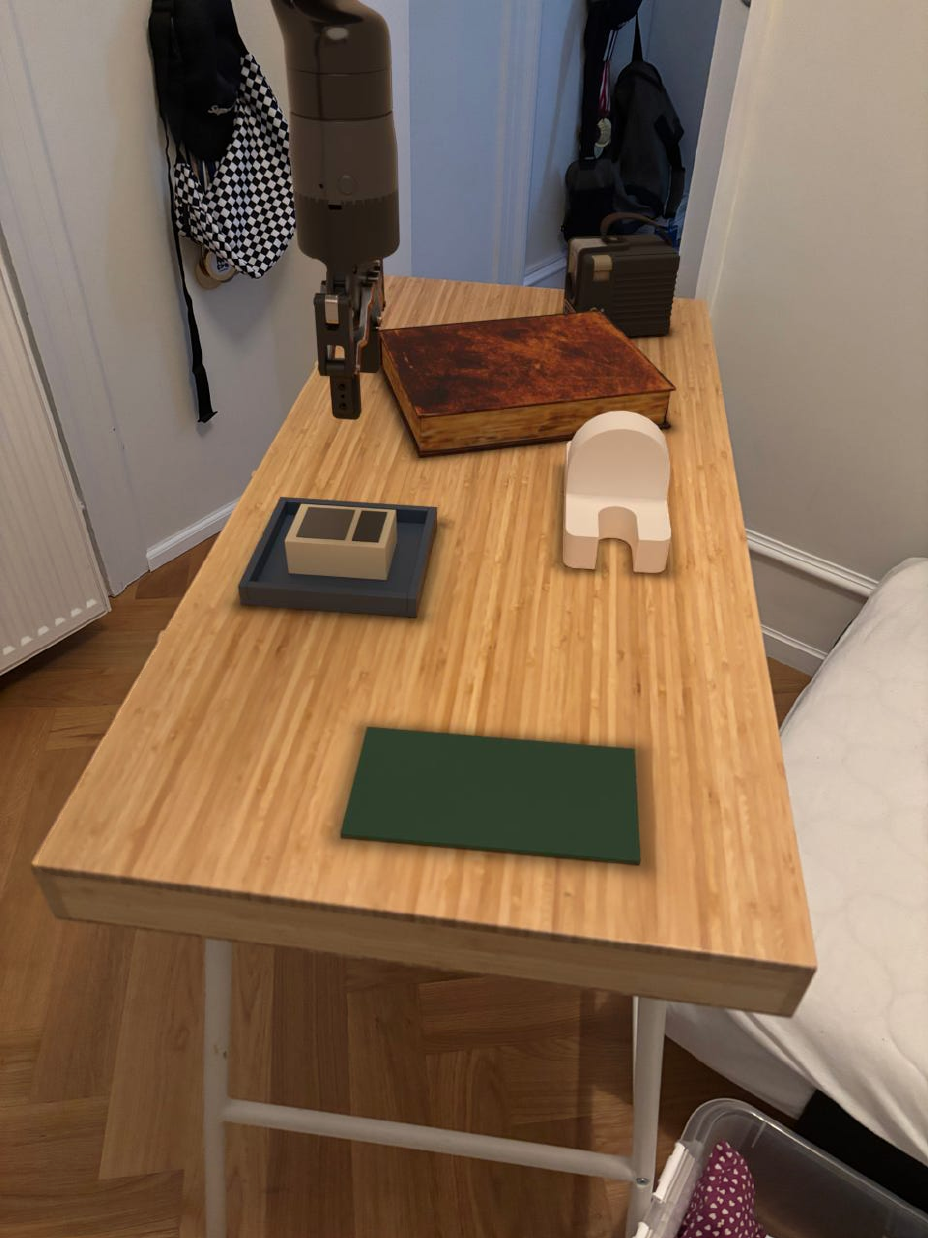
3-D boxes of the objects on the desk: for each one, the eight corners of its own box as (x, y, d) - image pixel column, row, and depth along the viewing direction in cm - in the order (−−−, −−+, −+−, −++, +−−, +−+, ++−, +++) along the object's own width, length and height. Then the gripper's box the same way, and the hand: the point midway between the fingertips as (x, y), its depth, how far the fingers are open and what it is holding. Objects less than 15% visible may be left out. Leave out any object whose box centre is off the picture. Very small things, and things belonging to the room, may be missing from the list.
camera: (554, 313, 135) (562, 203, 126) (645, 307, 137) (660, 199, 128) (575, 343, 127) (585, 228, 117) (672, 336, 129) (690, 223, 119)
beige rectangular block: (288, 573, 85) (284, 539, 82) (304, 535, 90) (300, 501, 87) (386, 580, 84) (384, 546, 82) (397, 541, 89) (396, 508, 87)
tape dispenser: (653, 474, 100) (668, 380, 94) (666, 573, 86) (685, 472, 80) (564, 468, 101) (572, 375, 94) (562, 567, 87) (572, 465, 80)
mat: (340, 837, 63) (340, 833, 63) (367, 730, 71) (367, 726, 70) (639, 864, 62) (640, 861, 61) (634, 752, 69) (634, 748, 69)
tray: (240, 604, 82) (237, 585, 81) (282, 514, 93) (280, 496, 92) (416, 617, 81) (416, 598, 80) (437, 524, 92) (437, 506, 91)
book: (596, 345, 126) (600, 309, 123) (670, 428, 108) (676, 388, 105) (379, 366, 120) (377, 329, 117) (419, 457, 102) (418, 416, 99)
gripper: (316, 154, 72) (331, 355, 82) (266, 206, 61) (291, 431, 71) (412, 159, 72) (415, 360, 82) (380, 212, 61) (388, 437, 71)
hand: (357, 393), depth 77 cm, fingers open, 8 cm apart
